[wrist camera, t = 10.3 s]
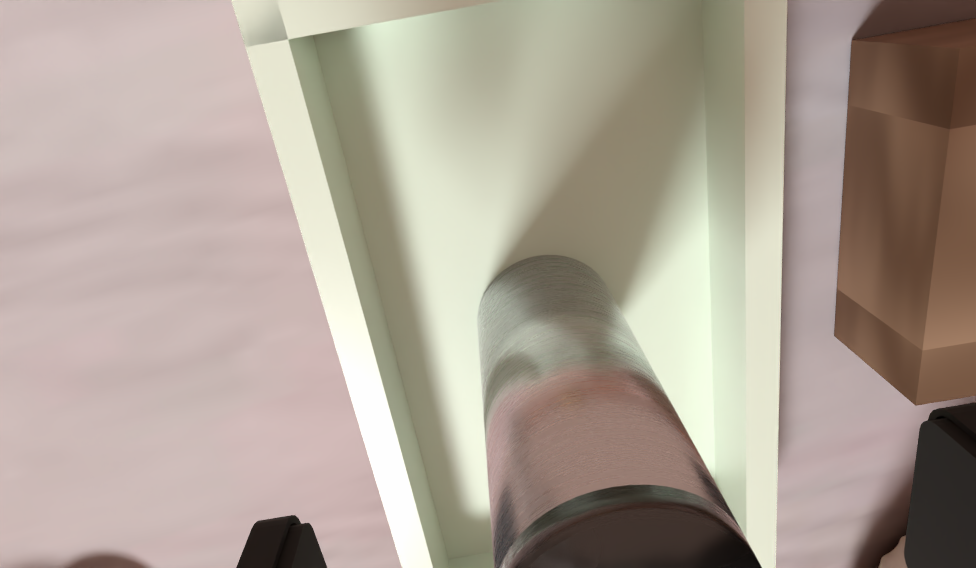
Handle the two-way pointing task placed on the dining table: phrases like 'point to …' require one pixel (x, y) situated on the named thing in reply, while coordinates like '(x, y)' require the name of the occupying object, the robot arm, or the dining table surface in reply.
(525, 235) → the tray
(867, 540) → the dining table surface
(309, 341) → the dining table surface
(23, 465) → the dining table surface
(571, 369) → the dark capped bottle
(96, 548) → the dining table surface
